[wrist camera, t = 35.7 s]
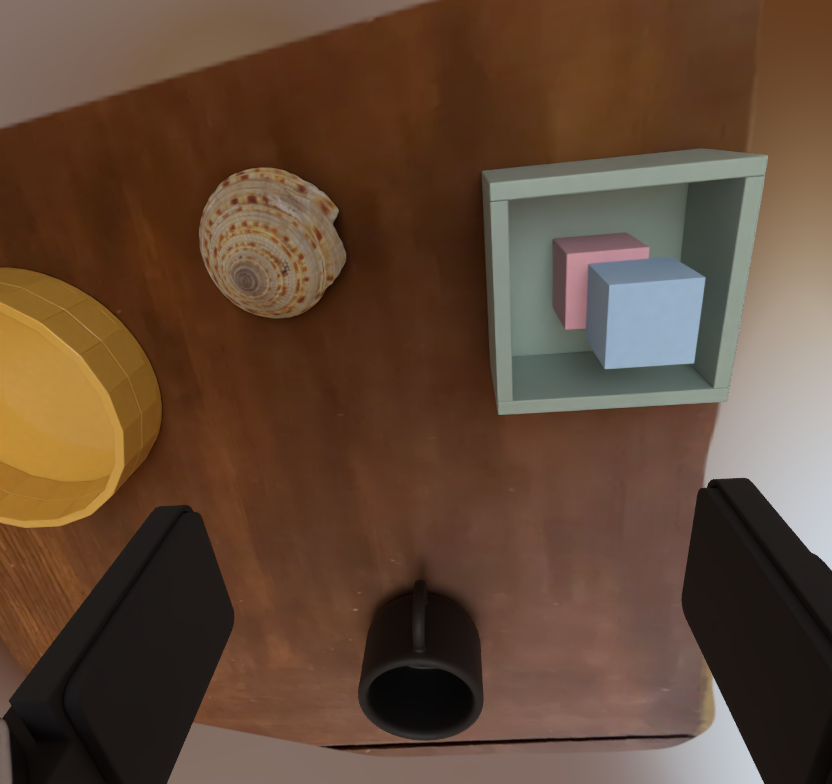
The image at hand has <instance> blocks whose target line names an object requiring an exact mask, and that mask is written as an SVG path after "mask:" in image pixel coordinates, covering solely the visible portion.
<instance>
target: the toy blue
mask: <svg viewBox="0 0 832 784" xmlns="http://www.w3.org/2000/svg"><path fill="white" fill-rule="evenodd" d="M704 286H705V277H704V276H702V275H701V274H699V273H697V272H696V271H694V270H693V269H691V268H689V267H688V266H686V265H684V264H683V263H681V262H679V261H678V260H676V259H675V258H673V257H661V258H650V259H638V260H626V261H614V262H602V263H590V264H588V288H587V314H586V340H587V342H588V343H589V345H590V347H591V348H592V350H593V351H594V353H595V355H596V356H597V358H598V359H599V361H600V363H601V364H602V366H603V367H604V369H617V368H632V367H647V366H662V365H677V364H692V363H694V360H695V353H696V345H697V338H698V331H699V323H700V316H701V308H702V301H703V293H704Z"/></svg>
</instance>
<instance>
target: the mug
mask: <svg viewBox="0 0 832 784" xmlns="http://www.w3.org/2000/svg"><path fill="white" fill-rule="evenodd" d="M358 699H359V703H360V706H361V708H362V711H363V712H364V714H365V715H366V717H367V718H368V719H369V720H370V721H371V722H372V723H373V724H375V725H376V726H377V727H379V728H380V729H382V730H384V731H386V732H388V733H391V734H393V735H396V736H399V737H402V738H406V739H412V740H438V739H444V738H448V737H451V736H454V735H457V734H459V733H461V732H463V731H465V730H466V729H468V728H469V727H470V726H471V725H472V724H474V722H475V721H476V720H477V719H478V717H479V715H480V713H481V711H482V708H483V700H484V699H483V683H482V665H481V647H480V638H479V634H478V631H477V629H476V627H475V624H474V623H473V621H472V619H471V618H470V616H469V615H468V614H467V613H466V612H465V610H464V609H463V608H461V607H460V606H459V605H457V604H456V603H454V602H453V601H451V600H449V599H446V598H444V597H441V596H437V595H432V594H427V584H426V581H424V580H421V579H420V580H417V581H416V582H415V585H414V594H411V595H406V596H403V597H400V598H397V599H395V600H393V601H391V602H390V603H388V604H387V605H386V606H385V607H383V608H382V609H381V611H380V612H379V613H378V614H377V615H376V617H375V618H374V620H373V622H372V623H371V625H370V628H369V631H368V634H367V640H366V646H365V652H364V658H363V664H362V671H361V677H360V683H359V689H358Z"/></svg>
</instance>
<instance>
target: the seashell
mask: <svg viewBox="0 0 832 784" xmlns="http://www.w3.org/2000/svg"><path fill="white" fill-rule="evenodd" d="M338 212H339V210H338V208H337V207H336V206H335V205H334V204H333V202H332V201H331V200H330V199H329V197H328V196H327V195H326V194H325V193H324V192H323V191H319V189H318V188H317V187H316V186H314V185H313V184H311V183H309V182H306V181H304V180H302V179H300V178H299V176H296V175H295V174H290V173H288V172H286V171H284V170H279V169H274V168H253V169H248V170H244V171H241V172H239V173H236V174H233V175H231V176H230V177H228V178H227V179H225V180H224V181H223V182H222V183H220V185H219V186H218V187H217V188H216V190H215V191H214V192H213V193H212V195H211V196H210V198H209V200H208V202H207V204H206V206H205V208H204V210H203V213H202V217H201V221H200V226H199V243H200V250H201V254H202V258H203V261H204V264H205V267H206V269H207V271H208V273H209V274H210V276H211V278H212V280H213V281H214V283H215V284H216V286H217V287H218V288H219V289H220V291H221V292H222V293H223V294H224V295H225V296H226V297H227V298H228V299H229V300H230V301H231V302H233V303H234V304H235V305H237V306H238V307H240V308H241V309H243V310H245V311H247V312H250V313H252V314H255V315H259V316H262V317H267V318H289V317H292V316H296V315H299V314H301V313H303V312H305V311H307V310H309V309H310V308H312V307H313V306H314V305H315V304H316V303H317V302H318V301H319V300H320V299H321V297H322V296H323V294H324V292H325V290H326V288H327V287H328V286H330V285H331V284H332V283H333V281H334V279H335V278H337V277H338V276H339V274H340V271H341V269H342V267H343V266H344V264H345V262H346V251H345V249H344V246H343V242H342V241H341V240H340V238H339V236H338V233H337V231H336V229H335V227H334V225H333V224H334V221H335V219H336V217H337V214H338Z"/></svg>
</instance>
